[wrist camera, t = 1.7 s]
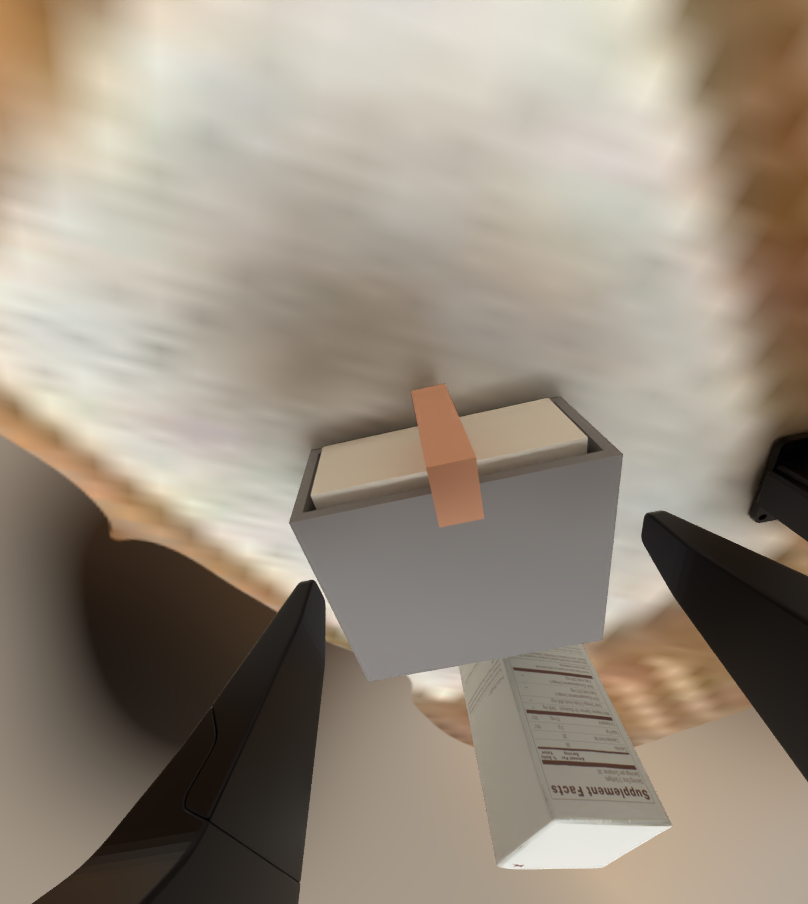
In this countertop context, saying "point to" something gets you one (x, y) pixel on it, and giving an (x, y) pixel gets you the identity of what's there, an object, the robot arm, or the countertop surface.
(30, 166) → the countertop surface
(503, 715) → the supplement box
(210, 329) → the countertop surface
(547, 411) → the tray
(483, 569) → the mailer sleeve
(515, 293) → the countertop surface
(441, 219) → the countertop surface
